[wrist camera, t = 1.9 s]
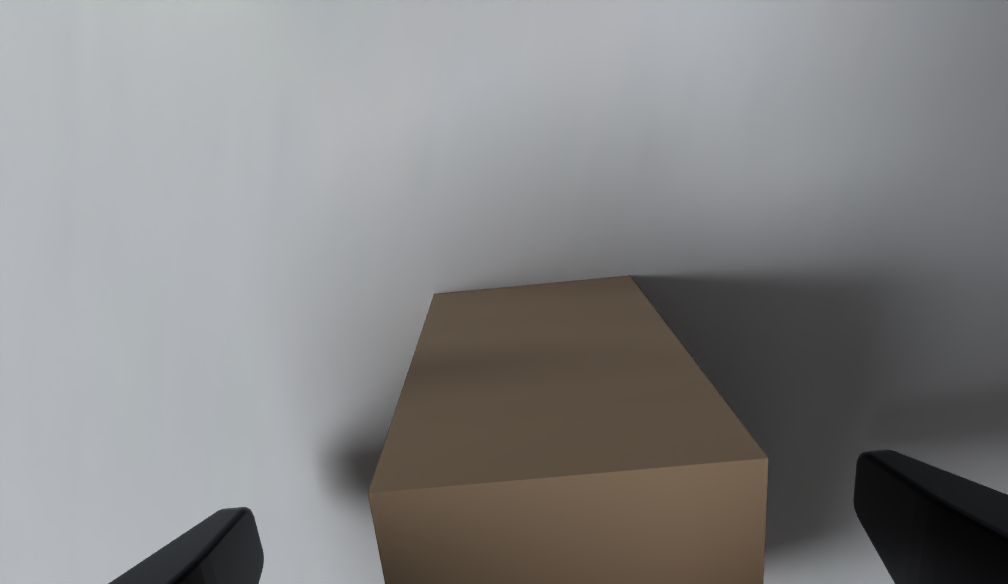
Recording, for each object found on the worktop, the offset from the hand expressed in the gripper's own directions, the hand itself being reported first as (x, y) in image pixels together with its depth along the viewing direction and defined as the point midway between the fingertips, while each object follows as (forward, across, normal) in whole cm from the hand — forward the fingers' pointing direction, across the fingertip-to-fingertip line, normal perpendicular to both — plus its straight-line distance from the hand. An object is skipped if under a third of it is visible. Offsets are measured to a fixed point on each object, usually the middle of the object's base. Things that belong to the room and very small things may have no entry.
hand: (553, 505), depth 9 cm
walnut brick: (+1, 0, 0) cm, 1 cm away
